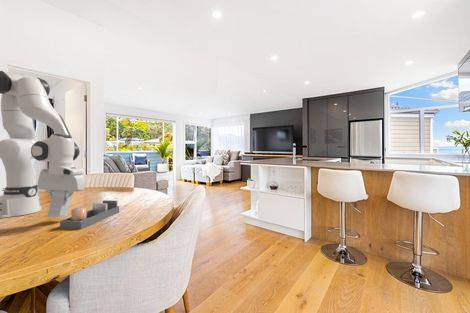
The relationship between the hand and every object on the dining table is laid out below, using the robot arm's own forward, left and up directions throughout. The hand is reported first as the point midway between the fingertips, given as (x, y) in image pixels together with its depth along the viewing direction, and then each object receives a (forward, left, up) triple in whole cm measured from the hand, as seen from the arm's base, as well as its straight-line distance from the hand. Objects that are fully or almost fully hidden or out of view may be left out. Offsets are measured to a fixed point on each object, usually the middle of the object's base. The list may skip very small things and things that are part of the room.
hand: (60, 199), depth 95 cm
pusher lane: (+13, +4, -11) cm, 17 cm away
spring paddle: (+13, +8, -9) cm, 18 cm away
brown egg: (+13, -4, -10) cm, 16 cm away
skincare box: (0, -1, -8) cm, 8 cm away
